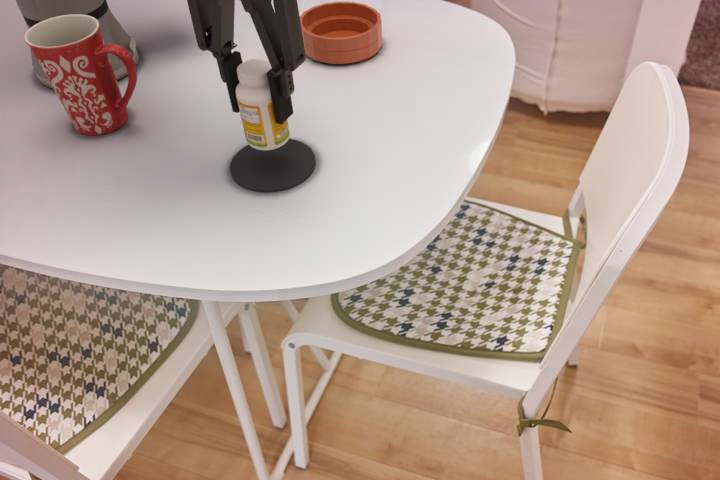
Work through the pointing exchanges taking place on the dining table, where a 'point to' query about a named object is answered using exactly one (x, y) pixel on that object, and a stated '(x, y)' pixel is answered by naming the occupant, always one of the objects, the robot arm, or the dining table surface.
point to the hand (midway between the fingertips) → (263, 111)
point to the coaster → (273, 167)
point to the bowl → (341, 32)
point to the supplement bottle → (258, 107)
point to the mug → (83, 71)
